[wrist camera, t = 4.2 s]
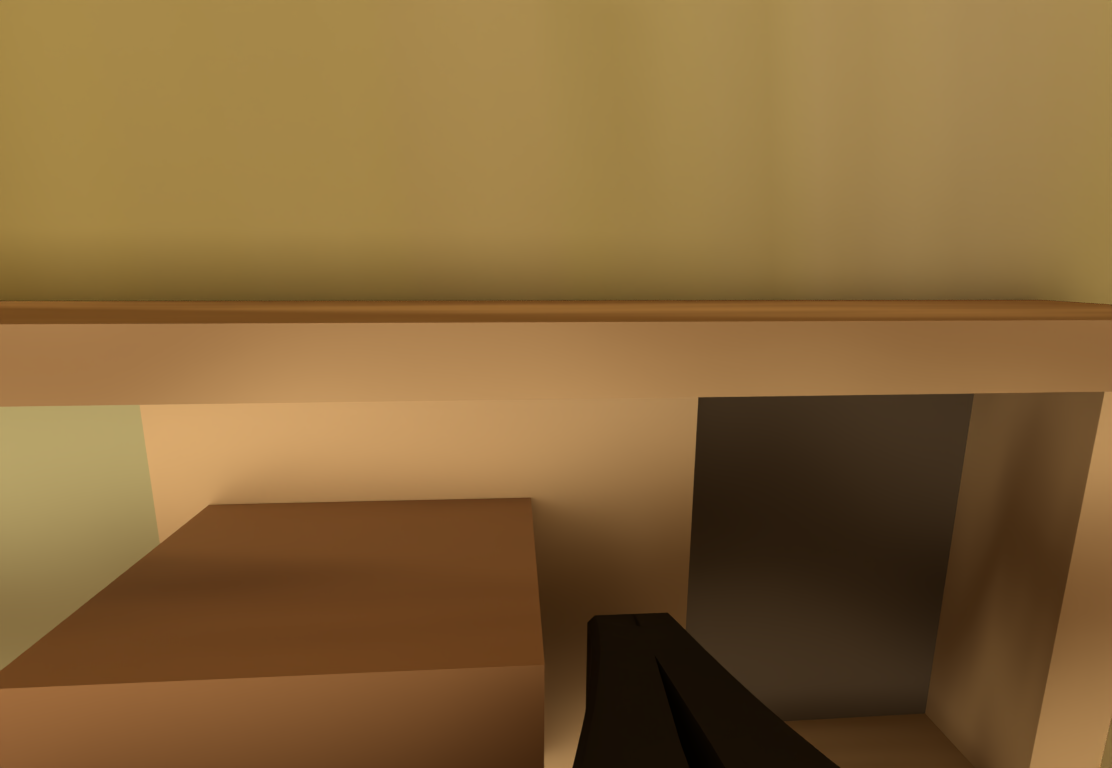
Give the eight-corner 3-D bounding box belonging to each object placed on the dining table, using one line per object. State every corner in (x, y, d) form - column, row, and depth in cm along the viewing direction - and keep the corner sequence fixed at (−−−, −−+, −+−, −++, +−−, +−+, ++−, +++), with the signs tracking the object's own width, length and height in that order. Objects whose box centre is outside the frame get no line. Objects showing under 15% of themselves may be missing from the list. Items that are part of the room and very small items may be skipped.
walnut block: (530, 759, 10) (542, 1058, 6) (242, 775, 10) (68, 1103, 6) (531, 497, 9) (545, 665, 5) (209, 504, 9) (-24, 689, 5)
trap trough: (967, 735, 15) (1160, 934, 10) (-631, 830, 12) (-1281, 1152, 8) (1042, 299, 13) (1328, 319, 8) (-896, 302, 10) (-2016, 332, 6)
